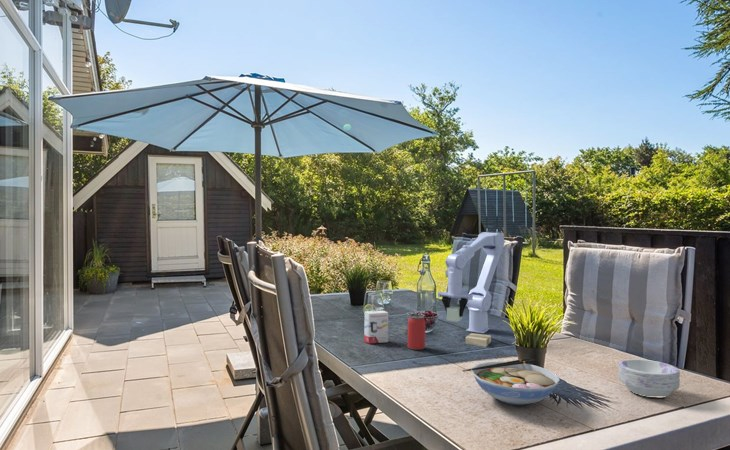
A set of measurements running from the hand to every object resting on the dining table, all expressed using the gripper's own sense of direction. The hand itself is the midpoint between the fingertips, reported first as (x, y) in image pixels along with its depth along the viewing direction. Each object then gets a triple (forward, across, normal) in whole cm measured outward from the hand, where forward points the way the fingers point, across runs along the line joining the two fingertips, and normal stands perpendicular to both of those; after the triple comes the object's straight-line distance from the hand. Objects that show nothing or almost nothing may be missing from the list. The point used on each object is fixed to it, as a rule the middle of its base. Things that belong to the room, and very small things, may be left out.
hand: (454, 315), depth 202 cm
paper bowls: (+9, +69, -34) cm, 77 cm away
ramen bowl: (+9, +37, -60) cm, 71 cm away
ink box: (+9, -23, -26) cm, 36 cm away
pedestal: (+9, +12, -6) cm, 16 cm away
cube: (+2, 0, 0) cm, 2 cm away
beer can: (+9, -6, -26) cm, 28 cm away
